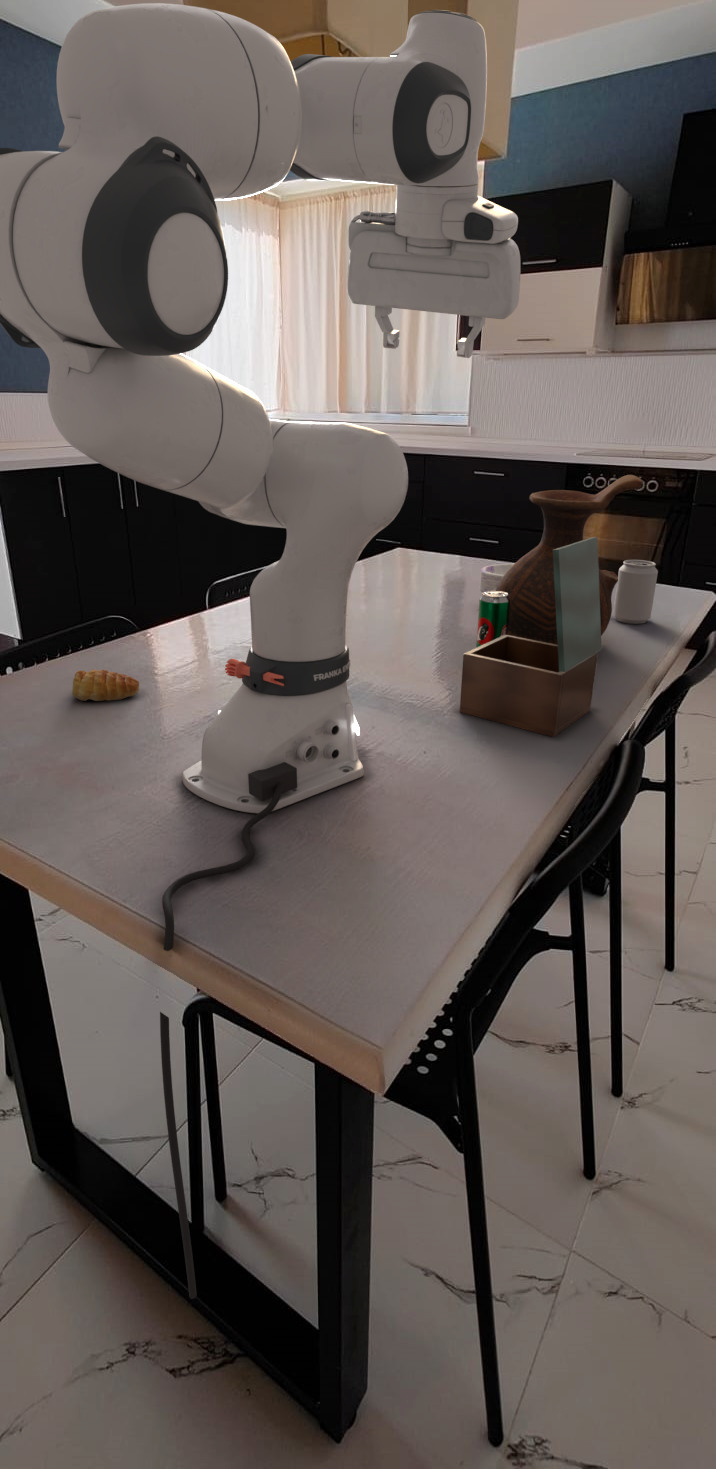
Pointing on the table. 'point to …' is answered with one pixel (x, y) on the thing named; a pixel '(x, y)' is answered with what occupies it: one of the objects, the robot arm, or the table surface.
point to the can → (635, 591)
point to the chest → (525, 685)
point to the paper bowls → (492, 576)
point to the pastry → (103, 685)
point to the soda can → (492, 616)
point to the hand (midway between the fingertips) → (427, 351)
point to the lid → (577, 602)
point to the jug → (535, 570)
